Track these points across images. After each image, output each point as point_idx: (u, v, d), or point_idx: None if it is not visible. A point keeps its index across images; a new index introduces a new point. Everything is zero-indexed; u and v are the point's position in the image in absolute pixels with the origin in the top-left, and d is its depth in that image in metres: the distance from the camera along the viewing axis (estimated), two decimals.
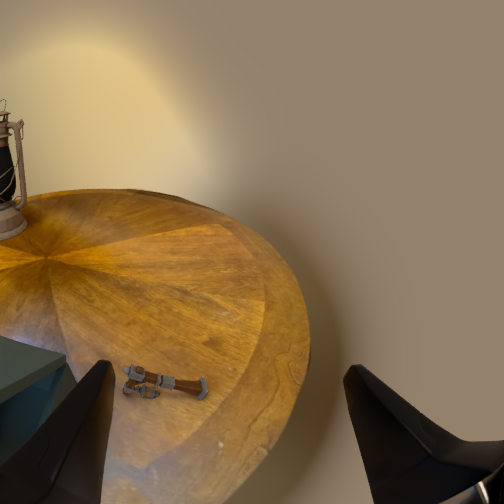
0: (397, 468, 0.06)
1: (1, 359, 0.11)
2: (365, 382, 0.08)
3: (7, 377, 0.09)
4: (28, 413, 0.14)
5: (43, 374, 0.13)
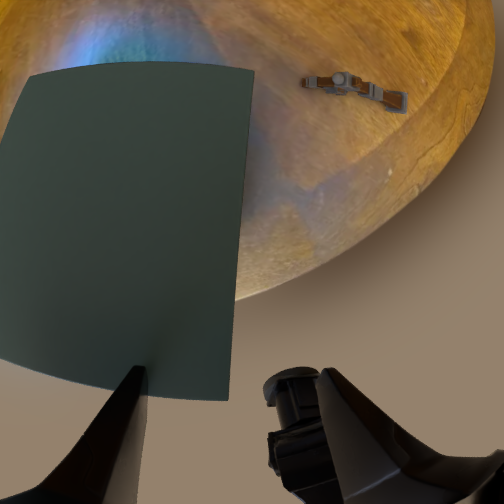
0: (368, 480, 0.06)
1: (152, 172, 0.09)
2: (336, 387, 0.08)
3: (216, 245, 0.09)
4: None
5: None
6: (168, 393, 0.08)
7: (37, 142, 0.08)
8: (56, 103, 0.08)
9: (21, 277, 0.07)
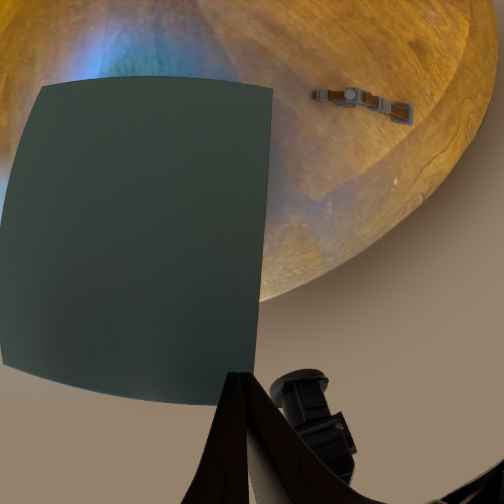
0: None
1: (178, 192, 0.09)
2: (245, 394, 0.07)
3: (241, 263, 0.10)
4: None
5: None
6: (195, 400, 0.09)
7: (55, 157, 0.08)
8: (74, 117, 0.09)
9: (45, 293, 0.08)
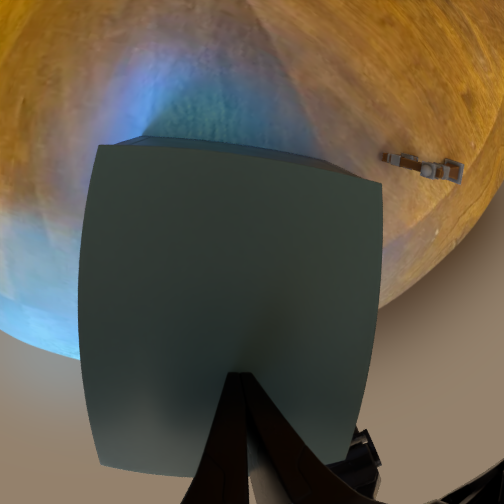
0: None
1: (309, 309, 0.10)
2: (245, 394, 0.07)
3: (356, 364, 0.10)
4: None
5: None
6: None
7: (150, 262, 0.09)
8: (165, 205, 0.09)
9: (162, 411, 0.08)
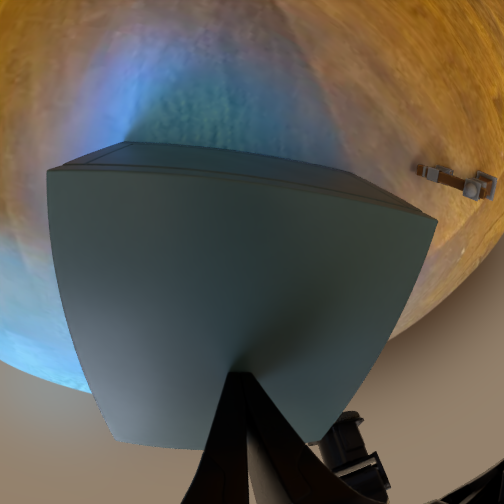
0: None
1: (313, 354, 0.09)
2: (245, 394, 0.07)
3: (348, 387, 0.10)
4: None
5: None
6: None
7: (141, 318, 0.07)
8: (150, 260, 0.06)
9: (166, 416, 0.09)
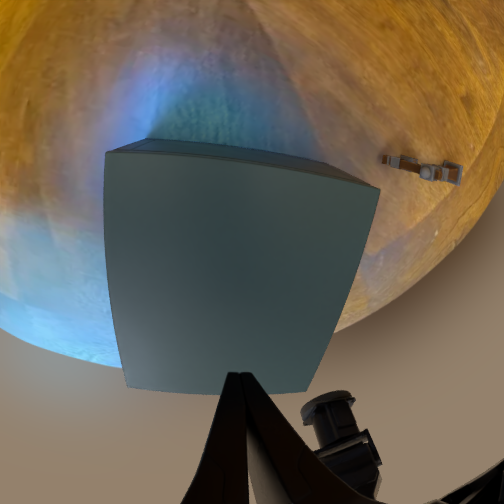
0: None
1: (289, 291, 0.12)
2: (245, 394, 0.07)
3: (323, 329, 0.14)
4: None
5: None
6: (276, 392, 0.16)
7: (164, 256, 0.11)
8: (174, 211, 0.10)
9: (174, 352, 0.13)
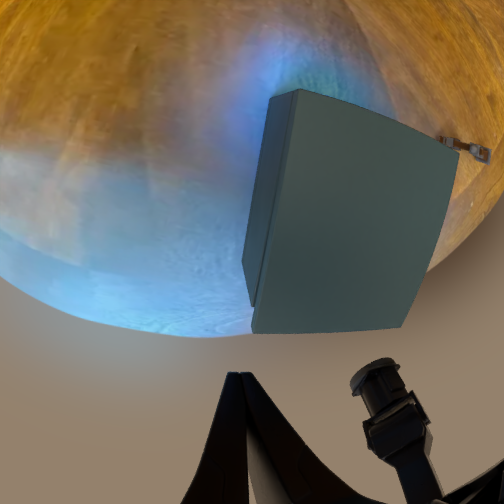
0: (276, 503, 0.05)
1: (410, 222, 0.14)
2: (245, 394, 0.07)
3: (423, 260, 0.16)
4: None
5: None
6: (381, 327, 0.17)
7: (336, 182, 0.13)
8: (349, 146, 0.12)
9: (318, 281, 0.15)
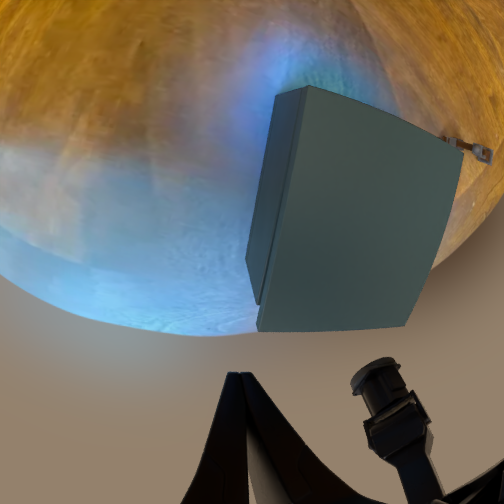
0: (276, 503, 0.05)
1: (415, 221, 0.14)
2: (245, 394, 0.07)
3: (428, 259, 0.15)
4: None
5: None
6: (385, 326, 0.17)
7: (344, 180, 0.12)
8: (357, 144, 0.12)
9: (325, 279, 0.15)
